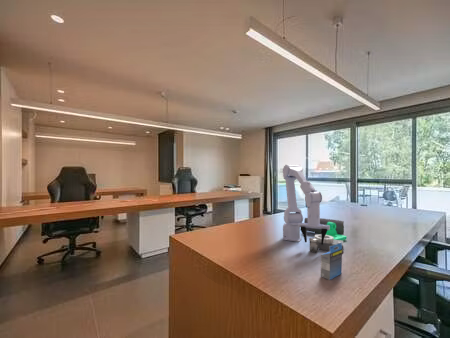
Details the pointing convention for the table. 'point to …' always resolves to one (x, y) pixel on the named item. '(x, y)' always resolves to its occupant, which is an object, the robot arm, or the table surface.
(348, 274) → the table surface
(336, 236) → the camera mount
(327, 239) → the camera body
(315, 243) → the lens
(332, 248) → the label tape box
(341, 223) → the bluetooth speaker
